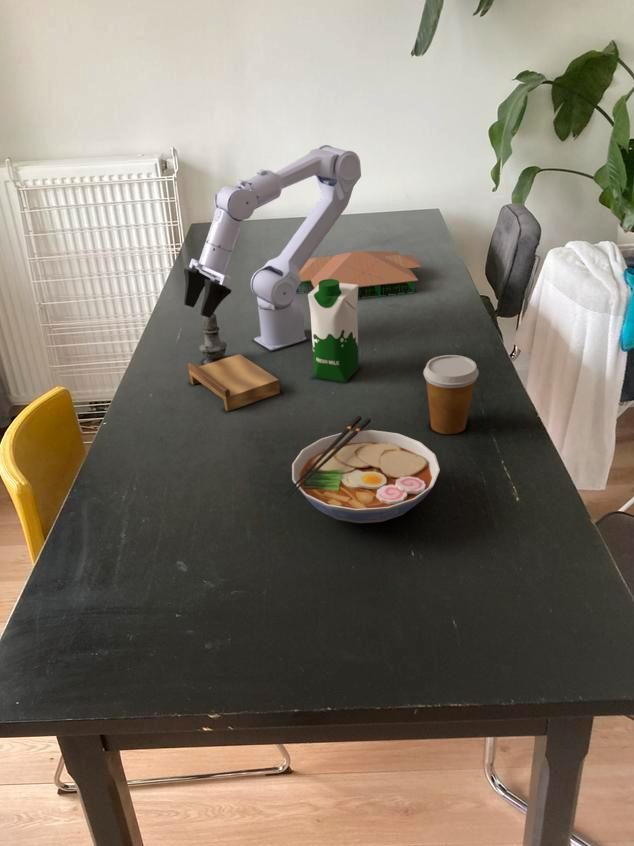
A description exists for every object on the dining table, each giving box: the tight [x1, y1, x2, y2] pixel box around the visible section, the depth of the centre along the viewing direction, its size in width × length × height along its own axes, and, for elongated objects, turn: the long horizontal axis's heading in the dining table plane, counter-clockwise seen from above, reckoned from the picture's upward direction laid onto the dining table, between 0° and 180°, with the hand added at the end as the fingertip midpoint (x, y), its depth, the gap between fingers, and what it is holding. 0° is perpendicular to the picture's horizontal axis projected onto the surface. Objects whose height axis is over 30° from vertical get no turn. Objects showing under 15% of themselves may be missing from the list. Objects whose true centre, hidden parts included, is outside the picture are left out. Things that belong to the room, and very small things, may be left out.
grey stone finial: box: [199, 312, 228, 365], centre depth 172 cm, size 6×6×12 cm
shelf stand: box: [187, 353, 281, 412], centre depth 163 cm, size 12×16×4 cm
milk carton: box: [307, 279, 360, 383], centre depth 162 cm, size 9×9×20 cm
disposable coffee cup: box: [423, 354, 480, 435], centre depth 143 cm, size 10×10×12 cm
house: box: [296, 250, 422, 299], centre depth 207 cm, size 23×33×8 cm
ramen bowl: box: [284, 415, 441, 524], centre depth 126 cm, size 25×23×8 cm
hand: (196, 311), depth 168 cm, fingers open, 7 cm apart
